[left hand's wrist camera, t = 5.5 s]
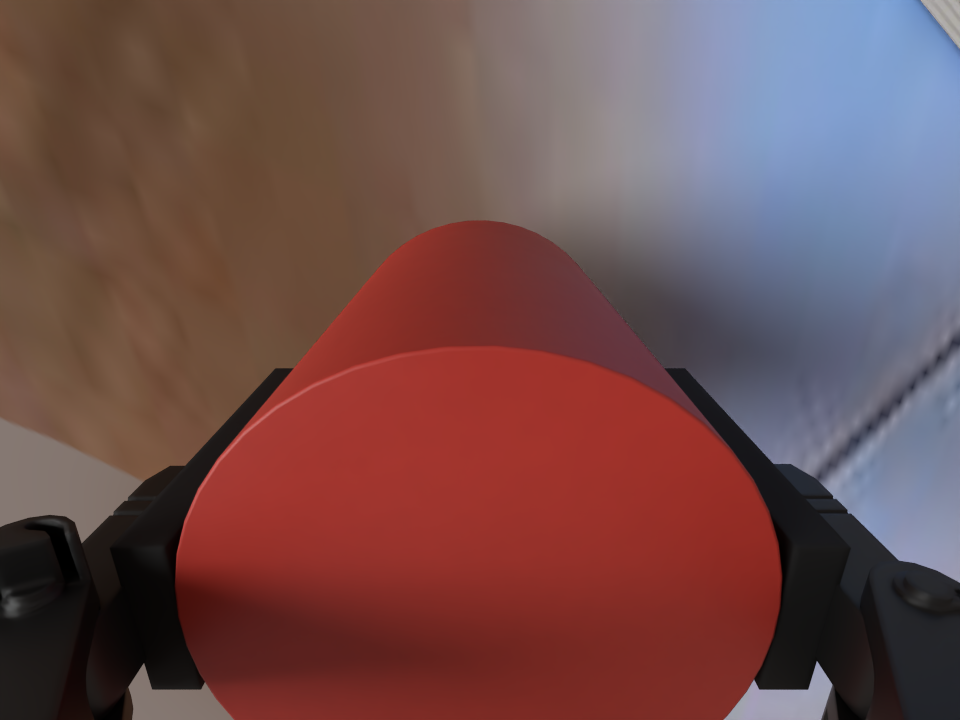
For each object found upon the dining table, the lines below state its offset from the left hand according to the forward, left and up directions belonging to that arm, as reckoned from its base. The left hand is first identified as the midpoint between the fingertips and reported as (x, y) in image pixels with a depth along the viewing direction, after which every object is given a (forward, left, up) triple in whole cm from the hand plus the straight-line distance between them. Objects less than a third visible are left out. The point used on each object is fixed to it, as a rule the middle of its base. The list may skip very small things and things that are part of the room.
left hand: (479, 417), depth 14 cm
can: (0, 0, -5) cm, 5 cm away
